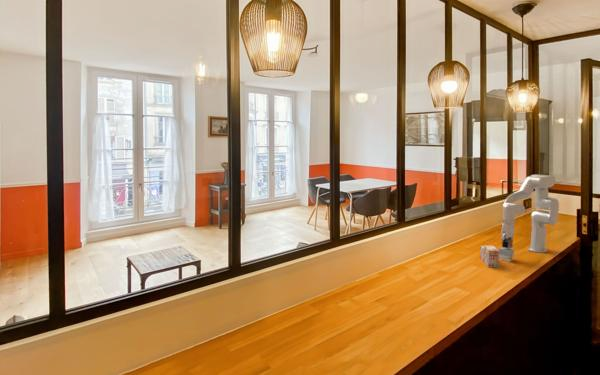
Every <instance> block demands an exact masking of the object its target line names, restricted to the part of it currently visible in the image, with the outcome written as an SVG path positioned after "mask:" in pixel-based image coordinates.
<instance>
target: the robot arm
mask: <svg viewBox="0 0 600 375" xmlns="http://www.w3.org/2000/svg"><path fill="white" fill-rule="evenodd" d="M556 182H557V180H556V177H555V176H553V175H552V174H551V175H550V174H549V175H547V174H531V175H529V176H526V177H525V178H524V180H523V182H522V184H521V185H520V187H519V188H518V190H517V191H515V192H512V193H511V194H510V195H508V196H507V197H506V198H505V201H504V202H503V204H502V224H501V225H502V226H501V230H500V237H501V240H503V247H506V248H507V247H508V242H507V240H508V238H509V239H513V237H514V235H515V219H516V215H522V214H524V212H525V211H526V207H525V205H523V204H521V203H516V201H520V200H523V199H528V198H530V197H531V195H532V194H533V192H534V191H535V192H534V193H535V194H534V207H535V208H536V209H537V210H533V211H532V212H531V213H530V214H531V215H530V217H531V218H530V219H531V234H530V235H531V237H530V246H529V247H527V249H528V251H531V252H534V253H542V254H544V253H547V252H548V249H547V248H546V246H547V244H546V237H547V227H546V225H550V226H552V225H553V226H554V225H557V223H558V220H559V210H560V202H559V200H558V199H557V198H556V197H551V196H549V188H552V187H554V185H555V184H556ZM547 210H548V211H547ZM505 238H506V239H505ZM503 247H502V248H503Z"/></svg>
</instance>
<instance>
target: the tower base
mask: <svg viewBox="0 0 600 375" xmlns="http://www.w3.org/2000/svg"><path fill="white" fill-rule="evenodd" d="M514 256H515V254H514V255H511V256H504V255H500V254H499V259H498V261H499V260H501V261H504V262H508V263H509V262H511V261H514Z"/></svg>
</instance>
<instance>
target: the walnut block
mask: <svg viewBox="0 0 600 375" xmlns="http://www.w3.org/2000/svg"><path fill="white" fill-rule="evenodd" d="M505 239H506V238H505ZM501 240H502V239H501ZM513 241H514V239H513V238H512V239H509V238H508V240H507V242H508V247H507V248H510V249H513V243H514V242H513ZM501 248H503V240H502V241H501ZM504 248H506V247H504Z"/></svg>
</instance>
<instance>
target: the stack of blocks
mask: <svg viewBox="0 0 600 375" xmlns="http://www.w3.org/2000/svg"><path fill="white" fill-rule="evenodd" d="M479 250H480V251H479V254H480V255H479V258H480V260H481V261H482V262H483V263H484V264H485V266H487V268H492V269H495V268H497V269H498V268H499V248H497V247H496V246H494V245H480V248H479Z"/></svg>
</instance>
